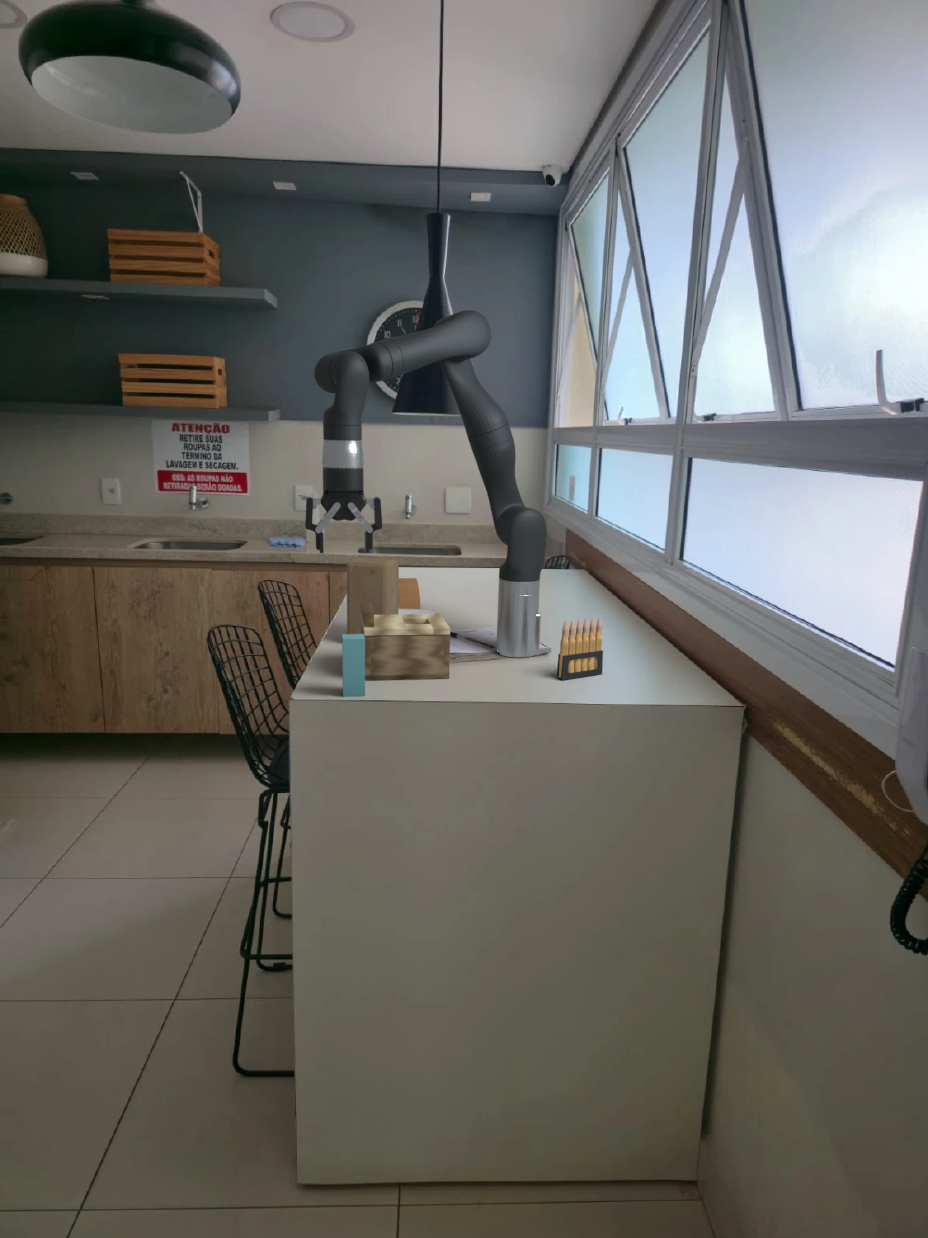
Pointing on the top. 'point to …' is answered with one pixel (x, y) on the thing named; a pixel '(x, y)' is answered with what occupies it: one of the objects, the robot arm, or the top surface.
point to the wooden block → (371, 588)
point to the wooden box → (406, 657)
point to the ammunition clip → (580, 651)
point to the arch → (408, 594)
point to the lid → (402, 623)
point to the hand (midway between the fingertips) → (344, 552)
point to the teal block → (353, 664)
